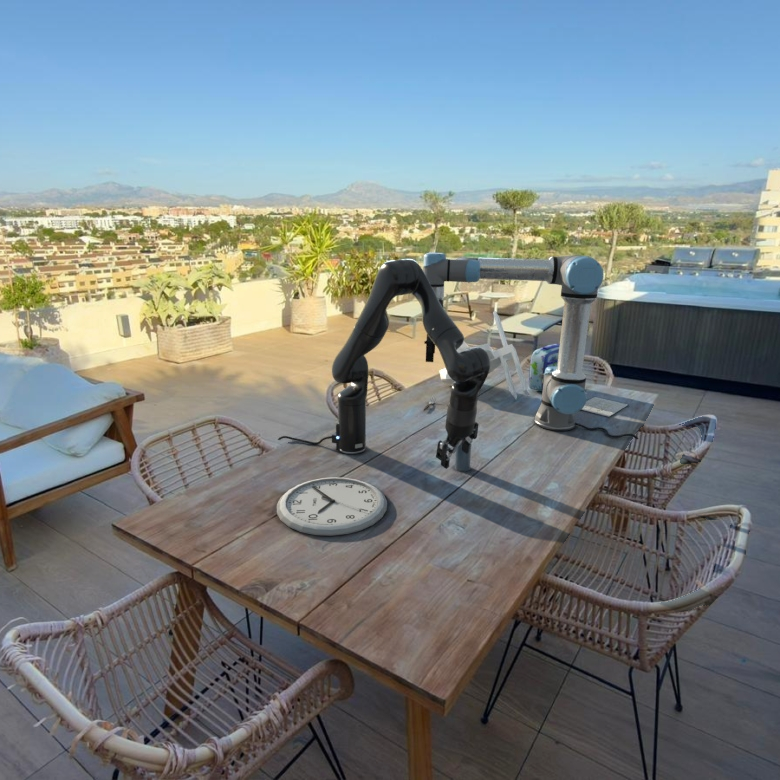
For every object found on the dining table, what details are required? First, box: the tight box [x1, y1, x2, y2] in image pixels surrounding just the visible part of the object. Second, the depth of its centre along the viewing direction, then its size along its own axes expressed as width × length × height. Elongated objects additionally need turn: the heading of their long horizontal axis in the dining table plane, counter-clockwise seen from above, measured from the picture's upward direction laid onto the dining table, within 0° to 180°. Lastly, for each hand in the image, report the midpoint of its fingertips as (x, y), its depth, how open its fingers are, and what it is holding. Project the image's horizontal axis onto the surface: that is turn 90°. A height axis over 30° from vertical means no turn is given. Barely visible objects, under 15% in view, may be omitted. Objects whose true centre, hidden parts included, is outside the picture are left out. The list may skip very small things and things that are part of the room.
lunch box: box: [528, 343, 560, 393], centre depth 248 cm, size 26×11×21 cm, turn 134°
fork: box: [422, 395, 437, 412], centre depth 223 cm, size 3×16×2 cm, turn 160°
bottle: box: [454, 442, 473, 472], centre depth 163 cm, size 5×5×20 cm
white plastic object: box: [438, 310, 531, 400], centre depth 245 cm, size 37×45×31 cm
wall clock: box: [276, 476, 388, 537], centre depth 142 cm, size 30×2×30 cm
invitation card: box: [580, 396, 629, 418], centre depth 226 cm, size 21×1×15 cm
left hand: (455, 459), depth 146 cm, fingers open, 8 cm apart
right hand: (430, 357), depth 190 cm, fingers open, 13 cm apart
